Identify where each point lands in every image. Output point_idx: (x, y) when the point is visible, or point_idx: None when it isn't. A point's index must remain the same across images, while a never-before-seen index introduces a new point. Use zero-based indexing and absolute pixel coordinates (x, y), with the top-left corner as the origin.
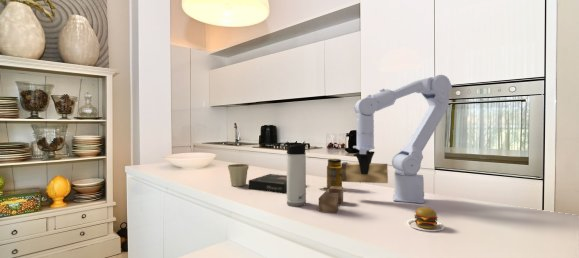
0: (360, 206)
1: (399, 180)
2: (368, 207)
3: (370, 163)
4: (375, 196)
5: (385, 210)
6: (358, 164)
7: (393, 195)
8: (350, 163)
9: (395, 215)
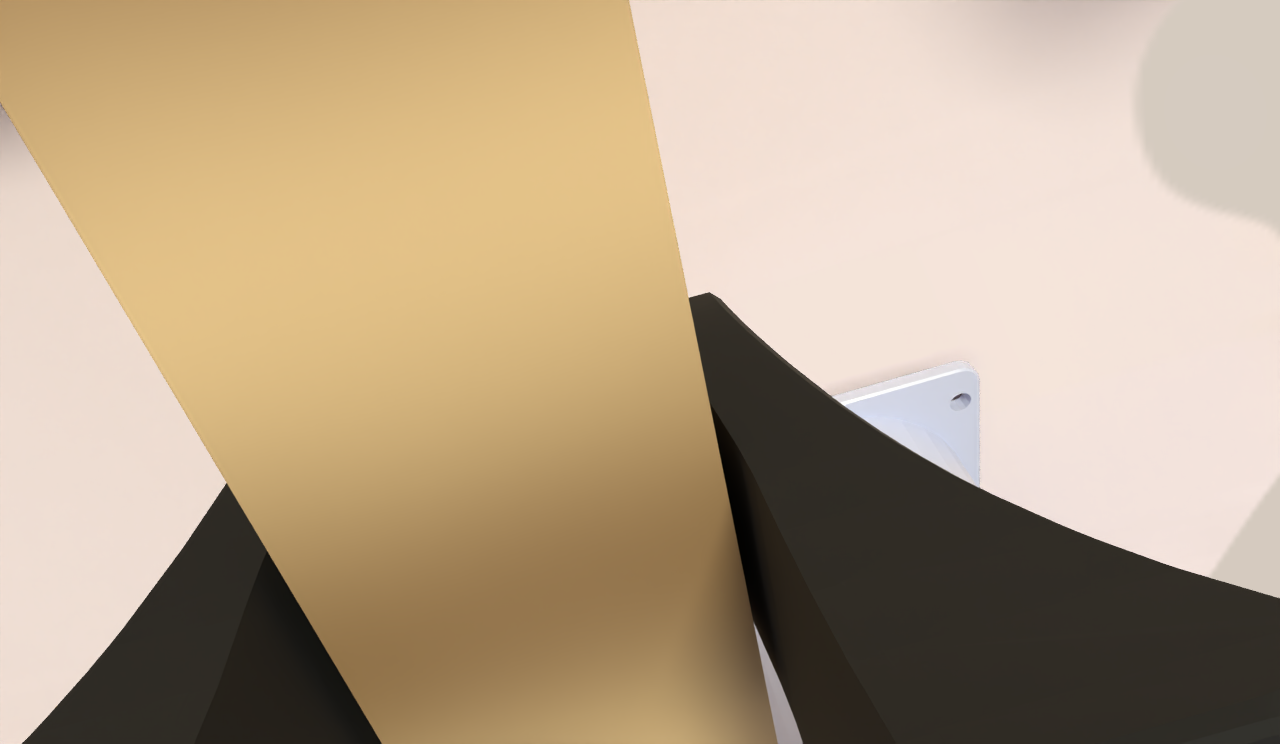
0: (32, 183)
1: (786, 730)
2: (88, 302)
3: (763, 700)
4: (836, 151)
5: (140, 508)
6: (325, 504)
7: (899, 389)
8: (511, 15)
9: (32, 638)
